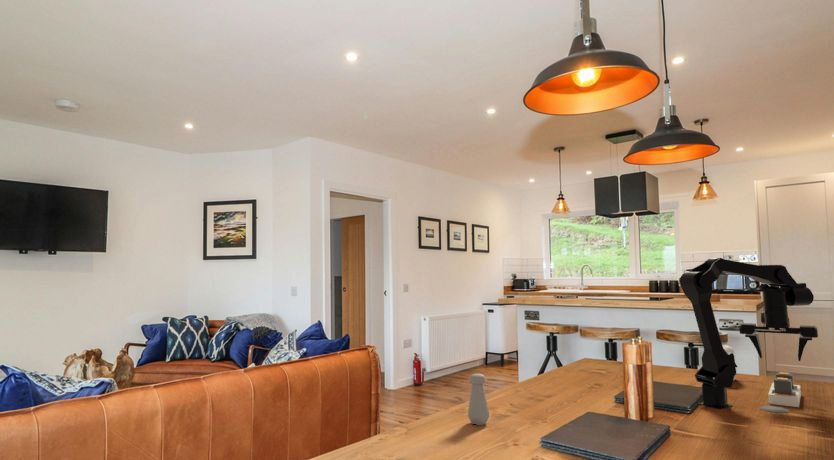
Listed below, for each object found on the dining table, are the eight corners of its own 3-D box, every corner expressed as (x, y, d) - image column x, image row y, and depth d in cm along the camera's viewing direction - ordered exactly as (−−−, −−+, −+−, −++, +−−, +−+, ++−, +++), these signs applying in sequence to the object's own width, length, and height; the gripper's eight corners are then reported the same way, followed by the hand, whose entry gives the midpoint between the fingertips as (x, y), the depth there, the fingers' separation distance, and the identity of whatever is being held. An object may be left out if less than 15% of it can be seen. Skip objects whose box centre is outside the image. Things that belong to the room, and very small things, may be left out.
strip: (799, 408, 140) (796, 382, 140) (768, 404, 144) (766, 379, 145) (802, 385, 165) (800, 364, 166) (776, 382, 170) (774, 362, 170)
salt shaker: (491, 421, 135) (489, 372, 136) (487, 427, 129) (485, 376, 130) (470, 419, 137) (469, 371, 138) (465, 425, 131) (464, 375, 132)
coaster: (780, 416, 133) (780, 414, 133) (753, 409, 139) (753, 408, 139) (795, 412, 136) (795, 410, 136) (768, 406, 142) (768, 404, 142)
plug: (793, 399, 146) (791, 378, 146) (792, 402, 143) (790, 380, 143) (776, 397, 148) (774, 376, 149) (775, 400, 145) (773, 378, 146)
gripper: (815, 305, 149) (820, 358, 147) (742, 304, 160) (746, 352, 159) (814, 308, 140) (820, 364, 139) (737, 306, 152) (741, 358, 151)
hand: (780, 359), depth 147 cm, fingers open, 9 cm apart
